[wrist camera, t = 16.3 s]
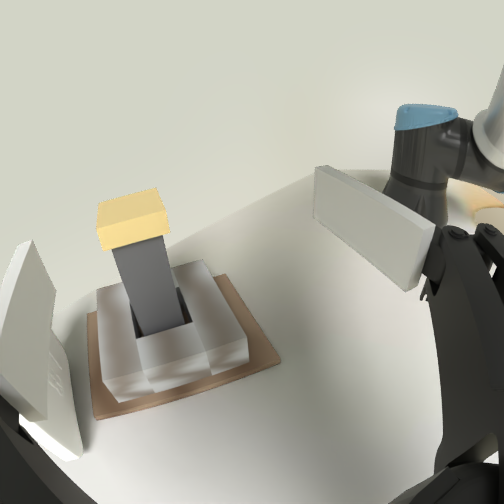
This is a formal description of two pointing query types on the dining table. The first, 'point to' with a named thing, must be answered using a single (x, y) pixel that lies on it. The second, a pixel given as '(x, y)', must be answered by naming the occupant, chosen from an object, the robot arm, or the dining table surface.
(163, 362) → the socket
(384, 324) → the dining table surface
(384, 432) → the dining table surface
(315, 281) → the dining table surface
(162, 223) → the plug
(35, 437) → the cable organizer
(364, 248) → the robot arm
